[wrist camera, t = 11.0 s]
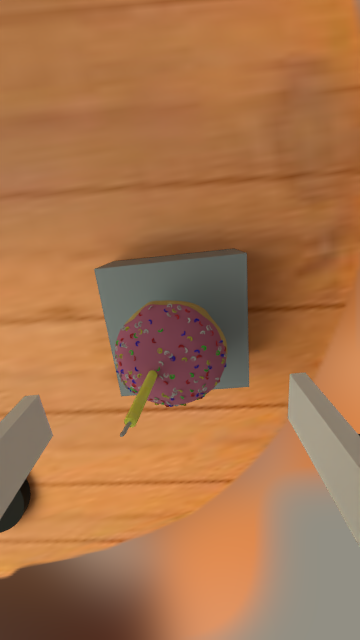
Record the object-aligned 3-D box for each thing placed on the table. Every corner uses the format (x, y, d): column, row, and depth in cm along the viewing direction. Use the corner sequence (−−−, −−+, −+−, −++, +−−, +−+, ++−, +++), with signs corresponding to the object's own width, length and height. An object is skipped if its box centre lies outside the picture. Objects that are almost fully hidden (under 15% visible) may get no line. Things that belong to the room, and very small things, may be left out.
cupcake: (147, 382, 25) (116, 504, 14) (112, 305, 23) (39, 377, 11) (230, 357, 24) (269, 468, 13) (203, 273, 22) (222, 319, 10)
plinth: (113, 261, 27) (94, 269, 22) (234, 248, 27) (246, 253, 21) (133, 366, 32) (121, 396, 26) (237, 358, 31) (249, 386, 25)
